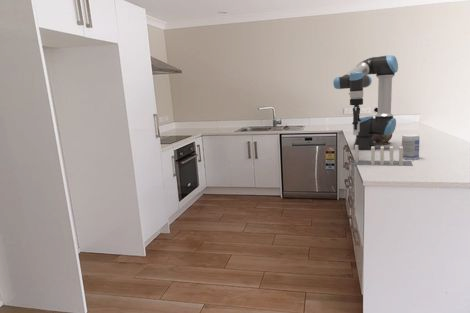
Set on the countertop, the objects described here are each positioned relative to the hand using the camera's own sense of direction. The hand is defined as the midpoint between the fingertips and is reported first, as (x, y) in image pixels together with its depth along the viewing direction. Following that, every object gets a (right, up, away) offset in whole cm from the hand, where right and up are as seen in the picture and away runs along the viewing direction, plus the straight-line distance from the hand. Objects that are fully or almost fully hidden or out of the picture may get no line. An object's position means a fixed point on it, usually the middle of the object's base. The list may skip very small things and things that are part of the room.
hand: (356, 133), depth 211 cm
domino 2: (+8, -18, -5) cm, 21 cm away
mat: (+13, -18, -4) cm, 23 cm away
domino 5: (+22, -18, -11) cm, 31 cm away
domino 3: (+13, -18, -7) cm, 23 cm away
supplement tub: (+34, -16, +2) cm, 37 cm away
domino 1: (+1, -17, +3) cm, 18 cm away
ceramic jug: (+40, -4, +58) cm, 71 cm away
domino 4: (+17, -18, -9) cm, 27 cm away
